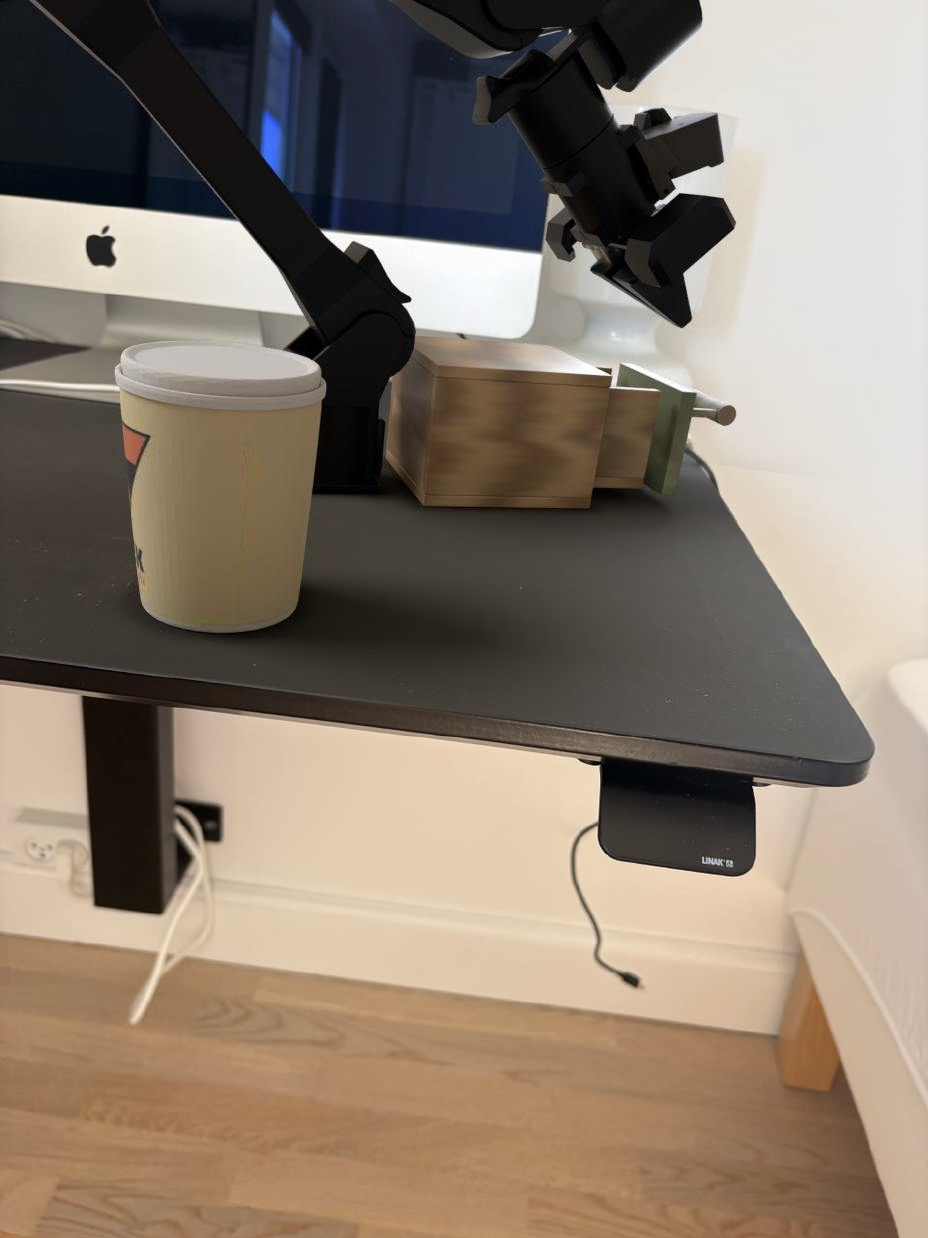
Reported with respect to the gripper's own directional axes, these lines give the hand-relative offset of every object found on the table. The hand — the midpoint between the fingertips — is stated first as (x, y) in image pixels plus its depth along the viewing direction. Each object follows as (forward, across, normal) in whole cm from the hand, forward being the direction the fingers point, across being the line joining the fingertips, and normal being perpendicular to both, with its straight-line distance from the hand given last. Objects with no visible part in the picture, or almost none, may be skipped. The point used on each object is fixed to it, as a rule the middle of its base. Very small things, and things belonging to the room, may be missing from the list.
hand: (685, 323), depth 73 cm
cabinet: (-1, 0, +19) cm, 19 cm away
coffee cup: (-16, -21, +34) cm, 43 cm away
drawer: (+6, 0, +11) cm, 13 cm away
